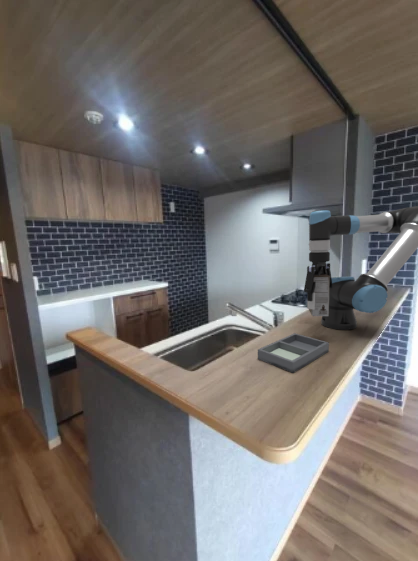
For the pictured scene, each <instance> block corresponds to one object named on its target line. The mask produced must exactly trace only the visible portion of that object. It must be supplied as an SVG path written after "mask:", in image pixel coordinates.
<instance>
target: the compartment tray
mask: <svg viewBox="0 0 418 561" xmlns="http://www.w3.org/2000/svg"><path fill="white" fill-rule="evenodd" d="M329 346H330V345H329V342H328V341H324V340H320V339H317V338H315V337H310V336H307V335H303V334H299V333H295V332H294V333H291V334H290V335H287V336H286V337H282V338H280V339H278V340H276V341H274V342H271V343H269V344H267V345H265V346H263V347H260V348H258V349H257V360H259V361H262V362H264V363H267V364H269V365H272V366H275V367H276V368H280V369H282V370H285V371H286V372H289V373H291V374H294V373H296V372H297V371H299V370H301V369H302V368H304V367H306V366H307V365H309V364H311V363H312V362H314V361H316V360H318V359H319V358H321V357H322V356H324V355H325V354H327V353H329V352H330V351H329V349H330V347H329Z"/></svg>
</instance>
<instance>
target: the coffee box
mask: <svg viewBox="0 0 418 561" xmlns="http://www.w3.org/2000/svg"><path fill="white" fill-rule="evenodd" d="M329 280H330V276H329V275H327V274H321V275H319V276H315V275H314V279H313V283H314V282H315V281H316V286H315V290H314V293H315V309H314V310H313V309H308V311H309V314H311V316H312V317H322V316H329Z"/></svg>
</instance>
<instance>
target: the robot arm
mask: <svg viewBox="0 0 418 561" xmlns="http://www.w3.org/2000/svg"><path fill="white" fill-rule="evenodd" d="M308 225H309V226H308V228H309V229H308V232H309V233H308V234H309V238H308V239H309V242H308V246H309V247H308V249H309V253H308V261H309V262H311V265H310V266H309V265H308V266H307V267H306V277H305V283H304V288H303V291H304V293H307V299H306V300H307V307H306V308H307V309H308V310H309V309H313V310H314V309H315V293H314V290H315V286H316V281H315V282H314V283H313V279H314V275H315V276H319V275H321V274H327V275H329V276H330V280H329V316H321V321H320V323H321V325H322V326H324V327H325V328H326V327H327V328H329V329H333V330H340V331H341V330H342V331H346V330H353V329H356V328H357V327H358V326H357V325H358V323H357V322H358V321H357V319H356V315H355V313H354V310H356V311H358V312H362V313H367V314H371V313H372V314H374V313H377V312H379V311H380V310H381V309H382V308H384V307H385V305H386V304H387V301H388V300H387V298H388V296H389V295H388V293H387V292H388V291H389V288H388V284H389V283H390V282H392V280H393V278H395V276H396V275H397V273H398V272H399V271H400V270H401V269H402V268H403V266H405V264H406V263H407V261H408V260H409V259H410V258H411V257H412V255H414V253H415V252H416V251H417V250H418V205H417V206H409V207H404V208H399V209H396V210H390V211H384V212H381V213H379V214H369V215H352V214H351V215H350V214H348V215H332V214H331V211H330V210H328V209H327V210H326V209H325V210H324V209H323V210H317V211H312V212H310V214H309V220H308ZM375 232H379V233H380V234H389V233H390V234H398V235H397V236H396V238H395V239H394V240H393V241H392V243H391V244H390V245H389V246H388V247H387V249H386V250H385V251H384V252H383V254H382V255H381V256H380V257H379V259H377V261H376V262H375V263H374V264H373V265H372V267H370V269H369V270H368V271H367V273H361V274H360V275H359V276H357V277H358V278H357V279H355V276H337V277H336V276H334V277H333V276H332V273H331V263H330V260H331V259H330V258H331V256H330V255H331V253H330V250H331V236H350V235H355V234H360V233H363V234H364V233H375ZM327 262H329V263H327Z"/></svg>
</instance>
